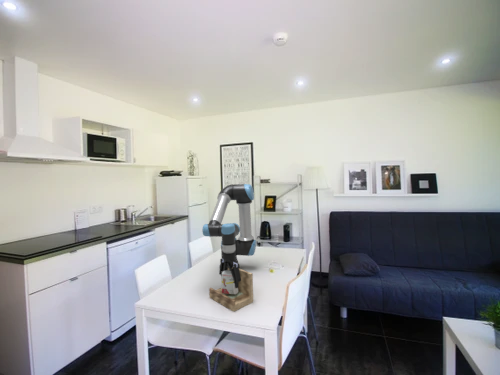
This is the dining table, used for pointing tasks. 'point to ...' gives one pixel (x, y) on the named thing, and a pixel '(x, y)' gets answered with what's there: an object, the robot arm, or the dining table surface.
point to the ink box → (227, 282)
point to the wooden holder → (237, 299)
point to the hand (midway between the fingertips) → (230, 290)
